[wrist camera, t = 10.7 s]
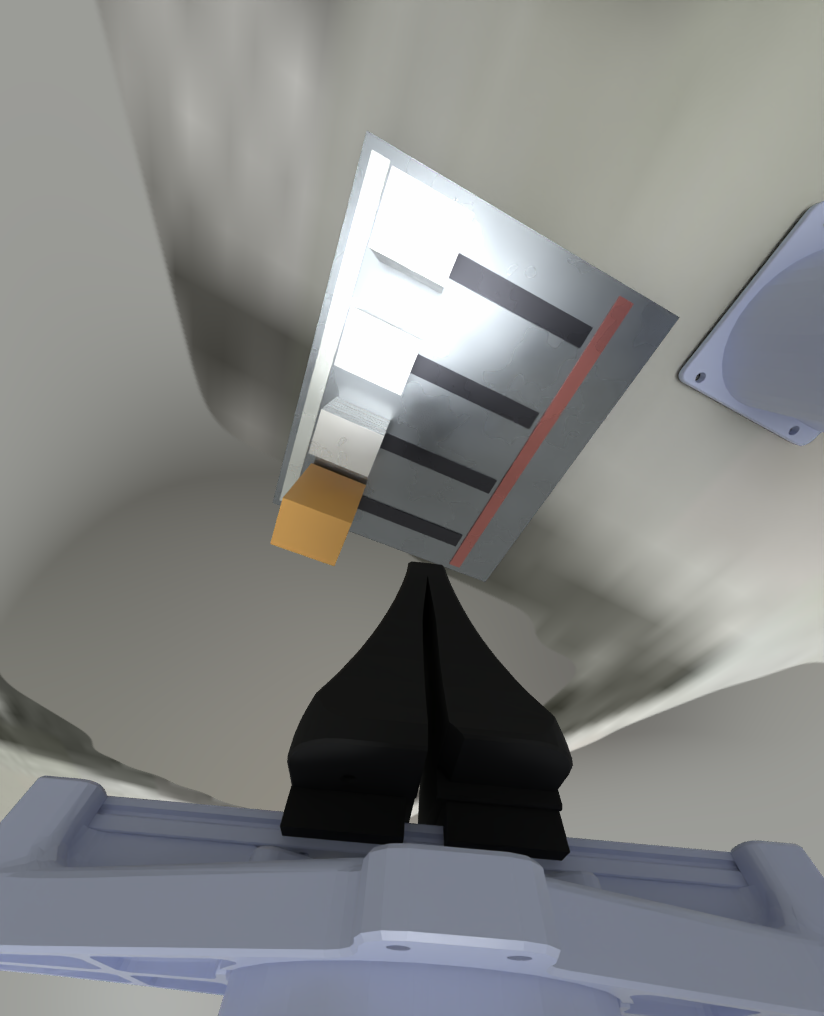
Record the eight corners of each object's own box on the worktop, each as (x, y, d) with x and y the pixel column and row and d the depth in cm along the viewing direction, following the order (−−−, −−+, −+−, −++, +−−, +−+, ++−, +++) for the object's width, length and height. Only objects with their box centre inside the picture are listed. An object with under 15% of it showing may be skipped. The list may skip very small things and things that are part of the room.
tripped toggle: (366, 485, 20) (351, 523, 16) (350, 522, 21) (334, 566, 18) (311, 463, 19) (282, 497, 16) (299, 503, 21) (270, 543, 17)
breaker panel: (663, 317, 17) (730, 315, 13) (482, 571, 25) (492, 612, 21) (371, 145, 14) (351, 80, 10) (279, 494, 22) (251, 527, 19)
